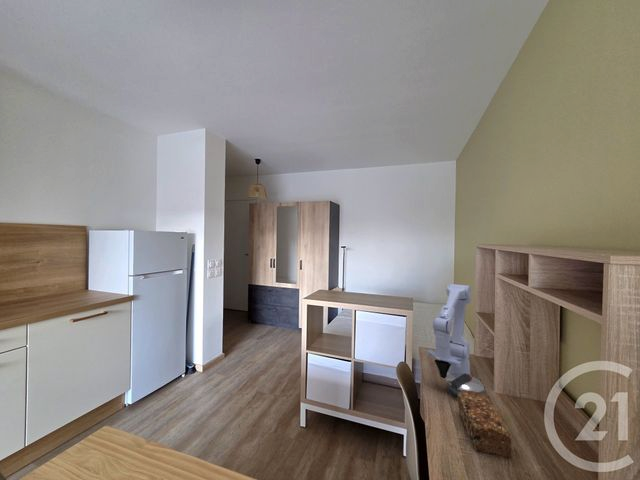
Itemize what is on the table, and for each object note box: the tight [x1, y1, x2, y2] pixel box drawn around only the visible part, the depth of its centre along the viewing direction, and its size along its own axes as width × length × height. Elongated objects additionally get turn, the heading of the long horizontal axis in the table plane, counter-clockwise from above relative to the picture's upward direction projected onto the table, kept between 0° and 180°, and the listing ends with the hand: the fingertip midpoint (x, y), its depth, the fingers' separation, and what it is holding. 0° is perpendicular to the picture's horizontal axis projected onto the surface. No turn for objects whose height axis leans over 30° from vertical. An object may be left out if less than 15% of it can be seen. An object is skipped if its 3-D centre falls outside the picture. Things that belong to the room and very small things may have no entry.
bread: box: [456, 390, 512, 458], centre depth 83 cm, size 19×11×10 cm, turn 164°
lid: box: [445, 373, 485, 393], centre depth 105 cm, size 16×14×3 cm
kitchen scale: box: [446, 382, 484, 400], centre depth 103 cm, size 18×14×4 cm
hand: (443, 377), depth 107 cm, fingers closed
